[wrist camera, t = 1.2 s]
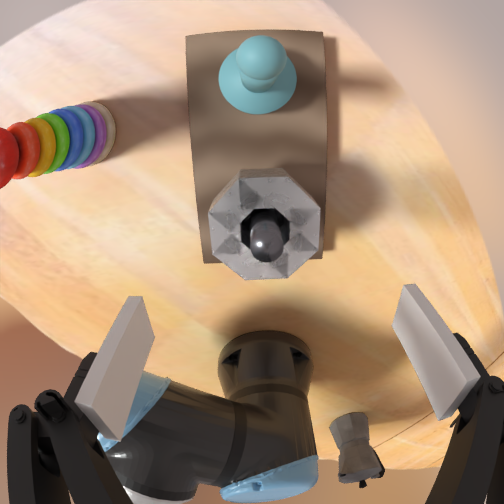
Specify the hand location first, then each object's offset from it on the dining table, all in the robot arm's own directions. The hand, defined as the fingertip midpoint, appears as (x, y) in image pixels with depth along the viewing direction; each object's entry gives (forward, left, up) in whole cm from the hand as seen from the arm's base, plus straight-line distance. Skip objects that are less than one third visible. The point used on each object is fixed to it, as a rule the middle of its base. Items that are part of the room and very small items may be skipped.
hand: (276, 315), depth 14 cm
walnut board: (+6, 0, -21) cm, 22 cm away
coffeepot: (-52, -20, -21) cm, 60 cm away
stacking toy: (+10, +20, -21) cm, 31 cm away
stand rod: (0, 0, -19) cm, 19 cm away
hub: (+13, 0, -19) cm, 23 cm away
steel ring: (0, 0, -15) cm, 15 cm away
